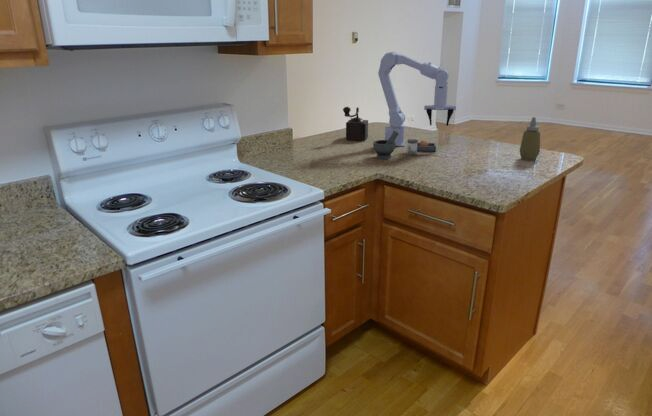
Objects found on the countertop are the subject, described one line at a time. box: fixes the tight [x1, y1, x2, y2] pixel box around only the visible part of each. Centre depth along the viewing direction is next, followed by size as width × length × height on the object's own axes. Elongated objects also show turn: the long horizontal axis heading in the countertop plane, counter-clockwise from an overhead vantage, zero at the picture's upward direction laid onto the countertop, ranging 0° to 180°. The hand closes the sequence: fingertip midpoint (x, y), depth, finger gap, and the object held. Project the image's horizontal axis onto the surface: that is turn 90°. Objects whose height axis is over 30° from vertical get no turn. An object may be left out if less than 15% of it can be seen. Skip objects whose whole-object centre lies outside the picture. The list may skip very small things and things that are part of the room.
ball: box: [419, 139, 429, 146], centre depth 221 cm, size 4×4×4 cm
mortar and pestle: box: [372, 131, 399, 160], centre depth 208 cm, size 11×9×12 cm
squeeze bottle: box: [519, 116, 541, 162], centre depth 198 cm, size 8×8×18 cm
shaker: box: [406, 138, 419, 157], centre depth 212 cm, size 5×5×7 cm
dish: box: [417, 142, 437, 153], centre depth 222 cm, size 11×8×2 cm
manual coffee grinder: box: [342, 106, 369, 142], centre depth 243 cm, size 16×11×18 cm
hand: (438, 125), depth 224 cm, fingers open, 7 cm apart
